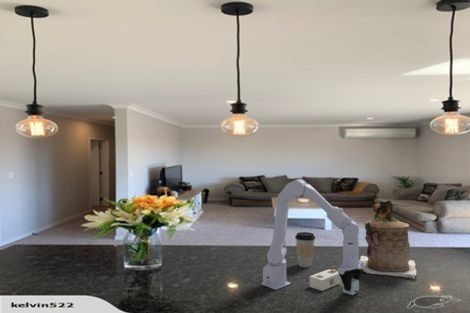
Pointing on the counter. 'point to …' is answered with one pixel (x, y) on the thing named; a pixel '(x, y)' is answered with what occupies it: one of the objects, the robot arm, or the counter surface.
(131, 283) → the counter surface
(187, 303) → the counter surface
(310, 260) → the coffee cup
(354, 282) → the charger
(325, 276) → the power strip
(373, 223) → the cookie jar
